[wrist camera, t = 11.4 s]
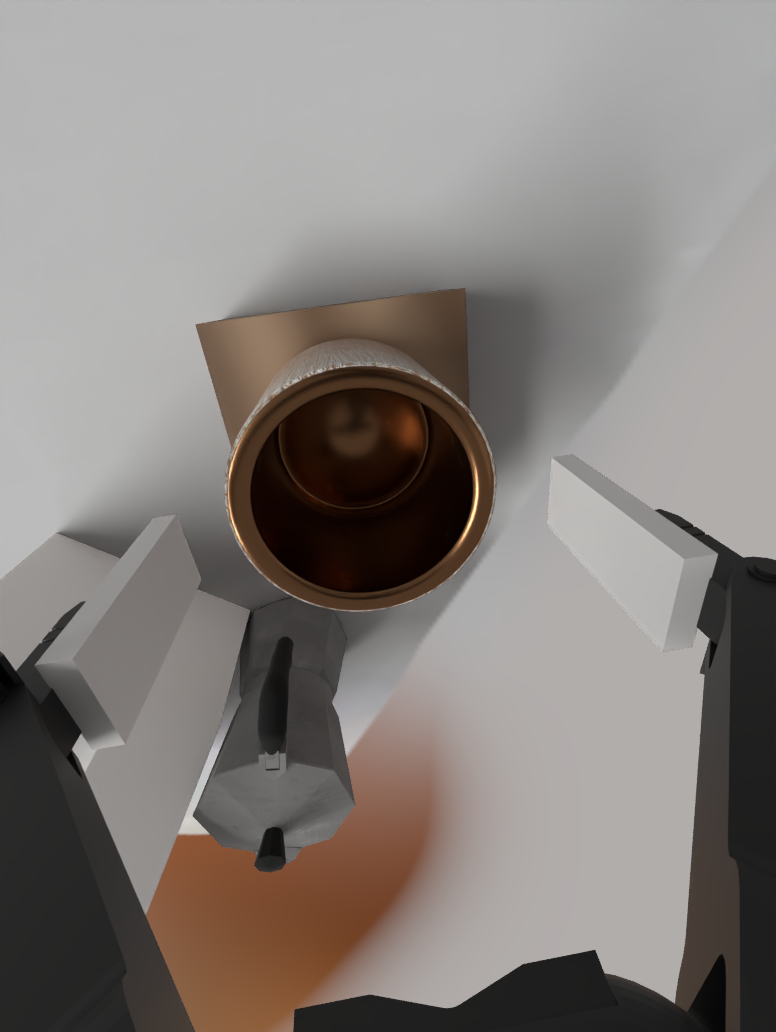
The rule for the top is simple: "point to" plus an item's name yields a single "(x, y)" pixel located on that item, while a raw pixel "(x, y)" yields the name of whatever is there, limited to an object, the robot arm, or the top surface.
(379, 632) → the top surface
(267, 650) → the coffeepot
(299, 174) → the top surface
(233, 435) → the plinth
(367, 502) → the planter
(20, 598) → the white slotted block
